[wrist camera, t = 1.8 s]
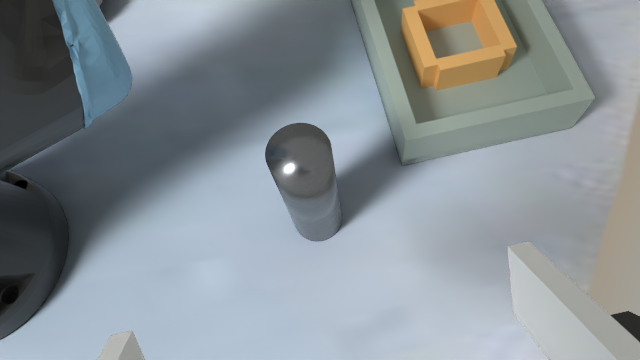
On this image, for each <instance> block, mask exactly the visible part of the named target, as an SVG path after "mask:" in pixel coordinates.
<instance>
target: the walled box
mask: <svg viewBox="0 0 640 360" xmlns="http://www.w3.org/2000/svg"><path fill="white" fill-rule="evenodd" d="M351 3H352V6H353V10H354V13H355V16H356V19H357V23H358V26H359V29H360V32H361V36H362V39H363V42H364V45H365V48H366V52H367V55H368V58H369V61H370V65H371V68H372V71H373V74H374V78H375V81H376V84H377V87H378V90H379V94H380V97H381V100H382V103H383V107H384V110H385V113H386V116H387V119H388V123H389V126H390V129H391V132H392V136H393V139H394V142H395V145H396V149H397V152H398V155H399V158H400V161H401V165H402V166H403V165H408V164H412V163H417V162H421V161H426V160H430V159H435V158H439V157H443V156H448V155H452V154H457V153H461V152H466V151H470V150H475V149H479V148H484V147H488V146H493V145H497V144H502V143H506V142H511V141H515V140H519V139H524V138H528V137H533V136H537V135H542V134H546V133H551V132H555V131H560V130H564V129H569V128H572V127H573V126H574V125H575V123H576V122H577V121H578V120H579V118H580V117H581V116H582V115H583V113H584V112H585V111H586V110H587V108H588V107H589V106H590V104H591V103H592V102H593V101H594V99H595V96H594V94H593V92H592V91H591V89H590V87H589V85H588V83H587V81H586V80H585V78H584V76H583V74H582V72H581V71H580V69H579V67H578V65H577V63H576V61H575V60H574V58H573V56H572V54H571V52H570V51H569V49H568V47H567V45H566V43H565V41H564V40H563V38H562V36H561V34H560V32H559V31H558V29H557V27H556V25H555V23H554V21H553V20H552V18H551V16H550V14H549V12H548V11H547V9H546V7H545V5H544V3H543V1H542V0H351Z"/></svg>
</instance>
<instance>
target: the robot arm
mask: <svg viewBox="0 0 640 360" xmlns="http://www.w3.org/2000/svg"><path fill="white" fill-rule="evenodd" d="M131 86H132V74H131V70H130V67H129V65H128V63H127V61H126V58H125V56H124V54H123V52H122V50H121V48H120V46H119V44H118V42H117V40H116V38H115V36H114V34H113V32H112V30H111V29H110V27H109V25H108V23H107V21H106V19H105V17H104V15H103V14H102V12H101V10H100V8H99V6H98V4H97V3H96V1H95V0H0V339H1V338H3V337H5V336H7V335H8V334H10V333H11V332H13V331H14V330H16V329H17V328H18V327H20V326H21V325H22V324H23V323H24V322H26V321H27V320H28V319H29V318H30V317H31V316H32V315H33V314H34V313H35V312H36V311H37V310H38V308H39V307H40V306H41V305H42V304H43V302H44V301H45V300H46V298H47V297H48V295H49V294H50V292H51V291H52V289H53V287H54V286H55V284H56V282H57V280H58V278H59V275H60V273H61V271H62V268H63V265H64V262H65V258H66V253H67V247H68V226H67V221H66V217H65V214H64V211H63V209H62V207H61V205H60V204H59V202H58V201H57V199H56V198H55V197H54V196H53V195H52V194H51V193H50V192H49V191H48V190H46V189H45V188H43V187H42V186H40V185H38V184H37V183H35V182H33V181H32V180H30V179H28V178H27V177H25V176H23V175H20V174H17V173H15V172H11V171H7V170H8V169H10V168H12V167H14V166H15V165H17V164H19V163H21V162H23V161H24V160H26V159H28V158H30V157H32V156H34V155H35V154H37V153H39V152H41V151H43V150H44V149H46V148H48V147H50V146H52V145H53V144H55V143H57V142H59V141H61V140H62V139H64V138H66V137H68V136H70V135H71V134H73V133H75V132H77V131H79V130H80V129H82V128H84V129H85V128H87V127H88V126H90V125H91V124H92V121H93V120H94V119H96V118H97V117H99V116H100V115H102V114H103V113H105V112H106V111H108V110H109V109H111V108H113V107H114V106H116V105H117V104H119V103H120V102H122V101H123V100H124V99H125V97H126V96H127V95H128V92H129V91H130V89H131ZM507 247H508V259H509V271H510V283H511V295H512V306H513V313H514V314H515V316H516V317H517V318H518V320H519V321H520V322H521V324H522V325H523V326H524V327H525V329H526V330H527V331H528V333H529V334H530V335H531V337H532V338H533V339H534V340H535V342H536V343H537V344H538V346H539V347H540V348H541V350H542V351H543V352H544V353H545V355H546V356H547V357H548V359H549V360H640V316H637V315H636V314H633V313H631V312H629V311H627V312H622V313H618V314H613V315H609V314H608V313H607V312H606V311H605V310H604V309H603V308H602V307H601V306H600V305H599V304H597V303H596V302H595V301H594V300H593V299H592V298H591V297H590V296H589V295H588V294H587V293H585V292H584V291H583V290H582V289H581V288H580V287H579V286H578V285H577V284H576V283H575V282H574V281H572V280H571V279H570V278H569V277H568V276H567V275H566V274H565V273H564V272H563V271H562V270H560V269H559V268H558V267H557V266H556V265H555V264H554V263H553V262H552V261H551V260H550V259H548V258H547V257H546V256H545V255H544V254H543V253H542V252H541V251H540V250H539V249H538V248H536V247H535V246H534V245H533V244H532V243H531V242H530V241H528V242H523V243H519V244H514V245H510V246H507ZM97 360H145V358H144V356H143V354H142V352H141V349H140V347H139V345H138V342H137V340H136V338H135V335H134V333H133V331H128V332H123V333H119V334H115V335H111V336H110V337H109V339H108V341H107V343H106V345H105V346H104V348H103V350H102V352H101V354H100V355H99V357H98V359H97Z"/></svg>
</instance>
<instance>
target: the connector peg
mask: <svg viewBox="0 0 640 360" xmlns="http://www.w3.org/2000/svg"><path fill="white" fill-rule="evenodd" d="M265 157H266V162H267V165H268V167H269V170H270V172H271V174H272V176H273V178H274V180H275V183H276V185H277V187H278V189H279V191H280V194H281V196H282V198H283V200H284V202H285V205H286V207H287V209H288V211H289V213H290V215H291V218H292V220H293V222H294V224H295V226H296V229H297V230H298V232H299V233H300V234H301V235H302V236H303V237H304V238H306V239H308V240H311V241H324V240H327V239H329V238H331V237H332V236H333V235H335V234H336V233H337V231H338V230H339V228H340V226H341V222H342V213H341V207H340V200H339V194H338V187H337V181H336V174H335V168H334V161H333V155H332V148H331V143H330V140H329V138H328V137H327V135H326V134H325V133H324V132H323V131H322V130H321V129H319V128H318V127H316V126H314V125H311V124H307V123H295V124H290V125H287V126H285V127H283V128H281V129H280V130H278V131H277V132H276V133H275V134H274V135H273V136H272V137H271V139H270V140H269V142H268V144H267V147H266V152H265Z"/></svg>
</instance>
